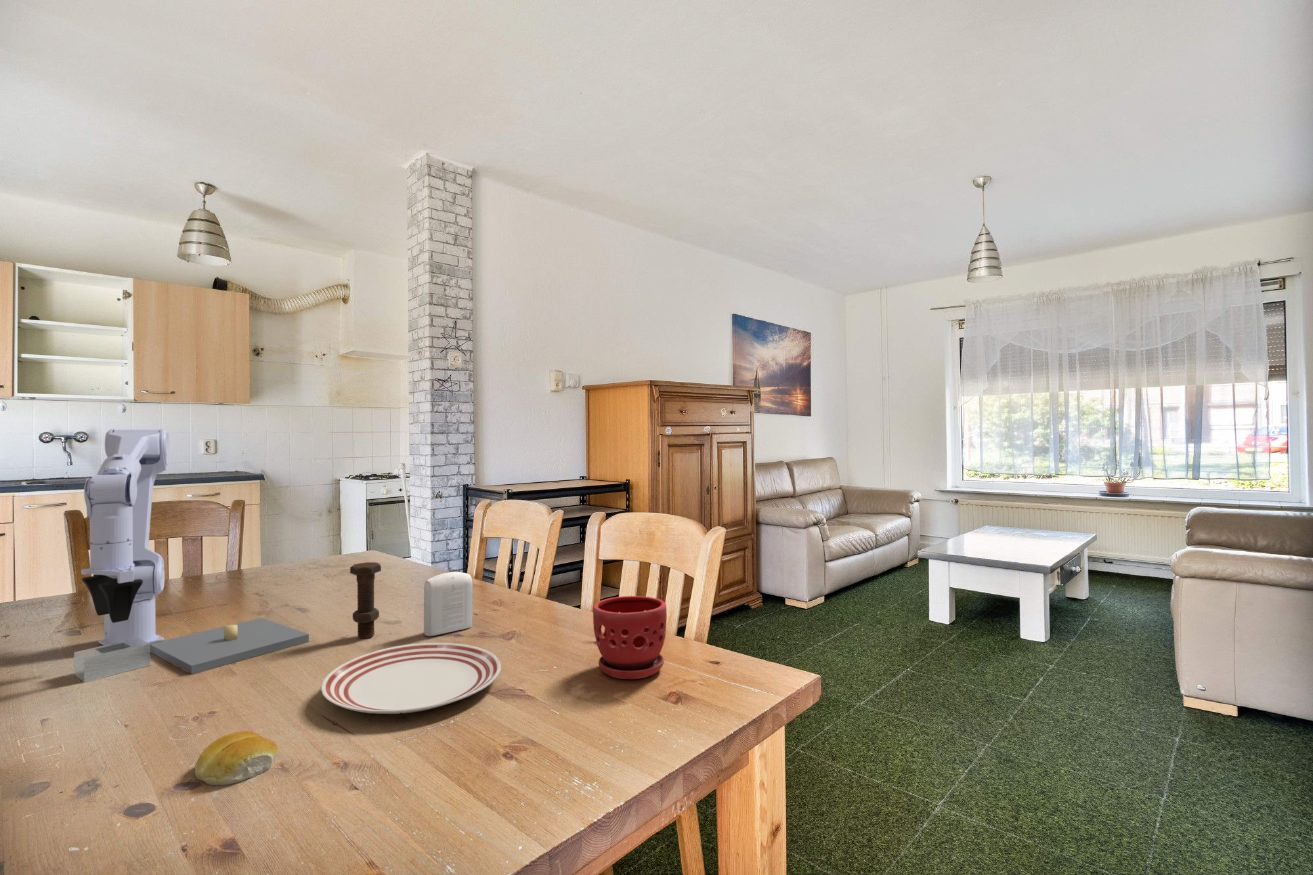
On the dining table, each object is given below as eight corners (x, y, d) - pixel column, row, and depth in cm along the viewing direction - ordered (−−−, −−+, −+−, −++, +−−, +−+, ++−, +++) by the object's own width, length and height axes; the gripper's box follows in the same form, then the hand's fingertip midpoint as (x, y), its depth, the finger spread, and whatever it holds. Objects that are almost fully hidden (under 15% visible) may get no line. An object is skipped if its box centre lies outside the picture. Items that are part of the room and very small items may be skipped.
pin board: (149, 651, 118) (149, 631, 118) (262, 624, 135) (261, 606, 135) (191, 674, 107) (191, 651, 107) (308, 641, 124) (308, 621, 124)
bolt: (367, 642, 123) (367, 568, 123) (345, 640, 124) (345, 567, 124) (385, 633, 129) (385, 562, 129) (364, 631, 130) (364, 561, 130)
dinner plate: (531, 669, 110) (531, 651, 110) (427, 743, 84) (427, 719, 84) (407, 651, 119) (407, 634, 118) (278, 713, 93) (278, 691, 93)
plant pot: (677, 662, 112) (677, 597, 112) (646, 690, 100) (646, 617, 100) (615, 652, 118) (615, 590, 118) (579, 676, 106) (578, 607, 106)
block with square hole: (74, 675, 107) (74, 652, 107) (139, 659, 114) (138, 637, 114) (84, 682, 104) (84, 658, 104) (150, 665, 111) (150, 643, 111)
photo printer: (466, 623, 136) (466, 567, 135) (475, 627, 132) (475, 570, 132) (420, 633, 128) (420, 575, 128) (429, 638, 125) (429, 578, 125)
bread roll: (254, 745, 83) (253, 715, 83) (287, 764, 78) (287, 733, 78) (181, 773, 76) (181, 741, 76) (213, 796, 71) (213, 762, 71)
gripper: (69, 540, 109) (69, 616, 110) (95, 549, 101) (96, 630, 102) (119, 535, 115) (120, 607, 115) (148, 542, 107) (149, 619, 107)
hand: (112, 617), depth 109 cm, fingers open, 7 cm apart
